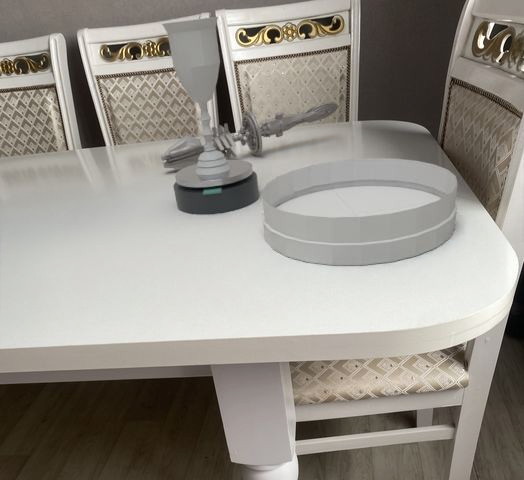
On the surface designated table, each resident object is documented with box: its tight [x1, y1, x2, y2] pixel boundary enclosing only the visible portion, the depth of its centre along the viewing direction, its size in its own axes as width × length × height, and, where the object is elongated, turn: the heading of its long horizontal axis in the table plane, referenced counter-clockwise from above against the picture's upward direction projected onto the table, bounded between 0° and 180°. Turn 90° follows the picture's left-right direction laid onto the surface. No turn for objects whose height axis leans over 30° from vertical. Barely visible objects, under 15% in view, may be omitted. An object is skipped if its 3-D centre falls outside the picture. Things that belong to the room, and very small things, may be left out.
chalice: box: [161, 16, 231, 175], centre depth 69 cm, size 7×7×18 cm
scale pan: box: [174, 159, 254, 187], centre depth 74 cm, size 11×11×1 cm
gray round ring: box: [261, 157, 458, 266], centre depth 61 cm, size 22×22×5 cm
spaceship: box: [159, 101, 339, 170], centre depth 95 cm, size 8×35×8 cm
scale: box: [172, 170, 260, 216], centre depth 75 cm, size 12×12×3 cm
